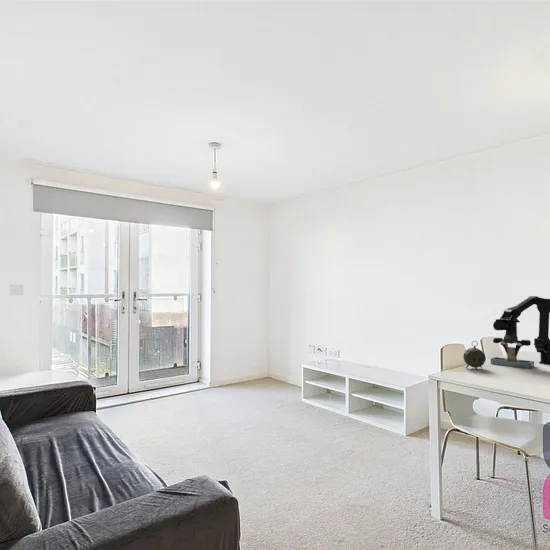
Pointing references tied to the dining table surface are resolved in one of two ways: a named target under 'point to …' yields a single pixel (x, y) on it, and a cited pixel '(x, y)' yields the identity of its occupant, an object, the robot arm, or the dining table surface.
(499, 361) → the rail
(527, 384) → the dining table surface
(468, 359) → the alarm clock
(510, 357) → the square peg
